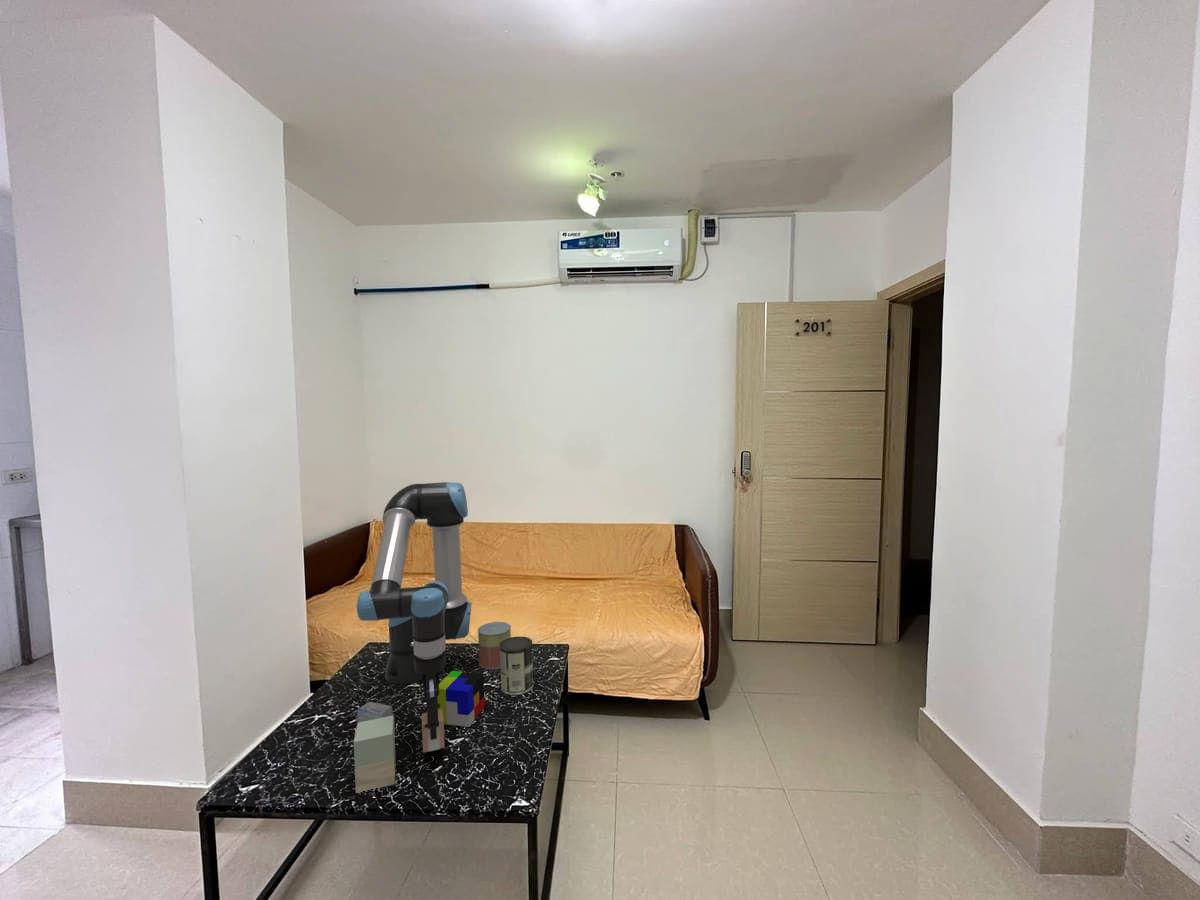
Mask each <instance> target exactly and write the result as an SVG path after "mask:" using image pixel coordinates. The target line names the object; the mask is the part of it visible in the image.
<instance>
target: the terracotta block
mask: <svg viewBox="0 0 1200 900" xmlns="http://www.w3.org/2000/svg"><path fill="white" fill-rule="evenodd" d="M438 721H439V740H440V749H445V731H444V728H445V727H444V726H445V724H444V722H443V710H438ZM427 723H428V718H427V712H423V713H421V735H422V753H426V752H427V753H428V734H427V728H425V724H427Z"/></svg>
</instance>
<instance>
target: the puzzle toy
mask: <svg viewBox="0 0 1200 900" xmlns="http://www.w3.org/2000/svg"><path fill="white" fill-rule="evenodd" d="M437 698H438V704H439V703H440V708H438V710H443V722H444V725H447V726H449V725H450V726H456V727H457V726H458V727H459V726H460V727H466V728H468V727H470V726H471V725H472V724H473V722H475V720H476V719H477V718H478V716H479V715H480V713H481V712H482V711H483V709H484V708H485V707H486V705H485V702H486V701H485V673H480V672H472V671H471V672H469V671H467V672H466V671H459V670H458V671H456V670H452V671H451V672H450V673H448V675H446V676H445V678H443V680H442V681H440V683H439V695H438V696H437Z"/></svg>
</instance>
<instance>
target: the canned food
mask: <svg viewBox="0 0 1200 900" xmlns="http://www.w3.org/2000/svg"><path fill="white" fill-rule="evenodd" d="M511 628H512V627H511V624H509V622H505V621H492V622H488V623H485V624H482V625H480V626H479V627H478V628H477V633H478V635H477V636H478V638H477V639H478V664H479V667H480V666H481V667H480V668H482V669H484V668H486V670H498V668H499V669H501V665H500V648H499V644H500V643H501V642H502V641H503V640H505V639H507V638H511V637H512V636H511Z"/></svg>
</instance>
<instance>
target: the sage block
mask: <svg viewBox="0 0 1200 900" xmlns="http://www.w3.org/2000/svg"><path fill="white" fill-rule="evenodd" d="M395 735H396V733H395V716H394V714H393V715H392V716H388V717H383V718H378V719H373V720H368V721H363V722H359V723H358V722H357V724H356V730H355V734H354V739H353V754H354V755H353V758H354V769H355V768H358V767H362V766H366V765H371V764H375V763H379V762H383V761H388V760H392V759H393V756H394V743H395V741H396V737H395ZM395 744H396V743H395Z"/></svg>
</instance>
